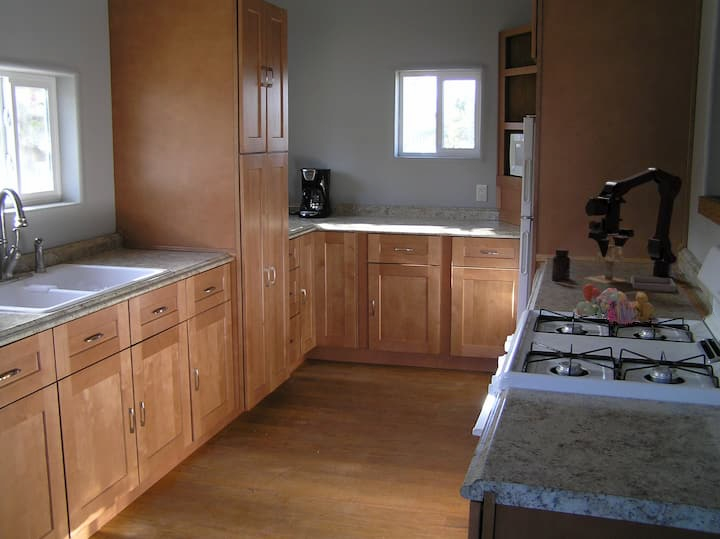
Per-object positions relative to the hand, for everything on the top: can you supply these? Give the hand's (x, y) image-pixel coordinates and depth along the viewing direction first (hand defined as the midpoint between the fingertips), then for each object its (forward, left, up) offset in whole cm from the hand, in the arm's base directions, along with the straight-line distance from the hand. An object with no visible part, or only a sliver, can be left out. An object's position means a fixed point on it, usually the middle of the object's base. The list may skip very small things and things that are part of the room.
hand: (609, 256), depth 297 cm
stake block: (+2, 0, -9) cm, 10 cm away
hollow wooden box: (0, 0, -1) cm, 1 cm away
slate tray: (-4, +17, -9) cm, 20 cm away
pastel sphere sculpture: (+43, +41, -10) cm, 60 cm away
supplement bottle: (+16, -9, -10) cm, 21 cm away
